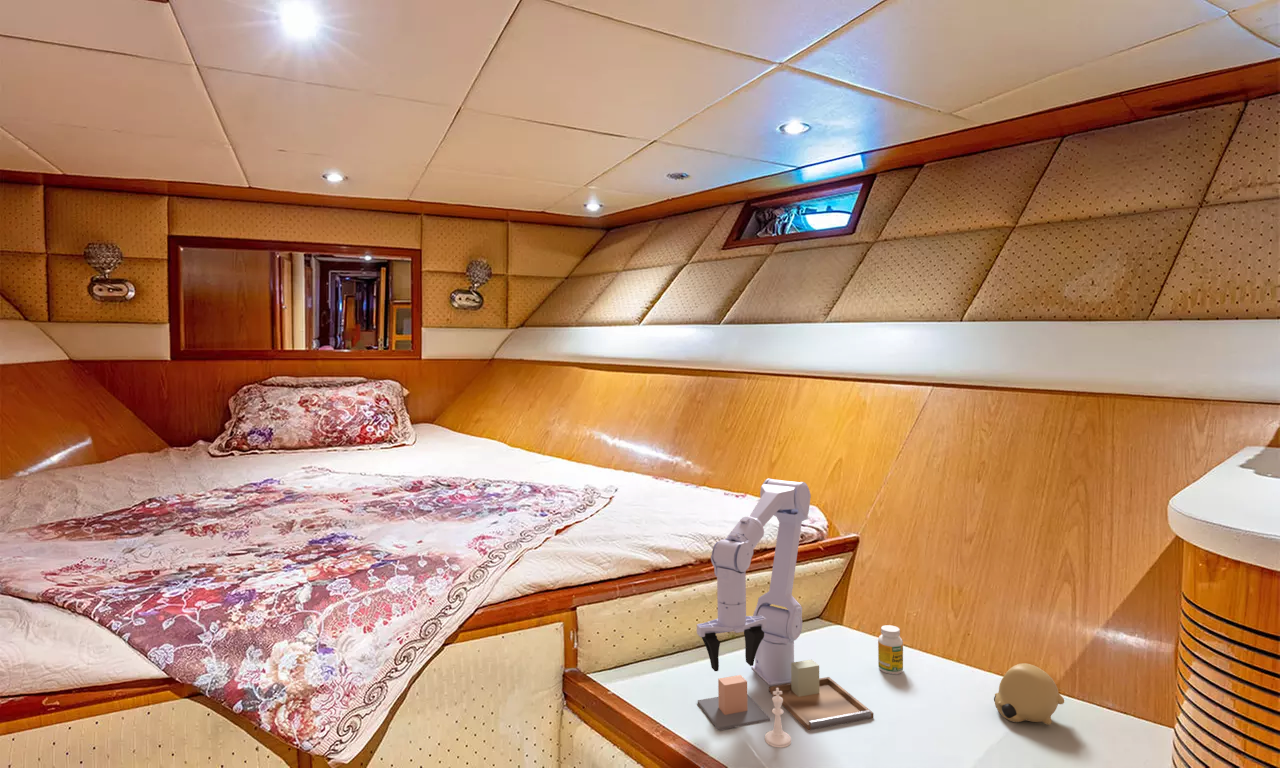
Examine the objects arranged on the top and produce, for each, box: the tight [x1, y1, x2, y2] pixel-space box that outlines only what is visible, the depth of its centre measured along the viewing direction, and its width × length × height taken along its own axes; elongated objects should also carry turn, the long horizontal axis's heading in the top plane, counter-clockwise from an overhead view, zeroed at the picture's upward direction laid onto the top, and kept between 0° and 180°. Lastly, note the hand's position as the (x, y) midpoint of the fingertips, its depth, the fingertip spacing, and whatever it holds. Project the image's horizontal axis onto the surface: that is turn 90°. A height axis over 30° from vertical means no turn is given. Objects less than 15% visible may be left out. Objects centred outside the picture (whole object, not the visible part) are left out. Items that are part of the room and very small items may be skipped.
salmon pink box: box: [717, 674, 748, 715], centre depth 136 cm, size 3×5×6 cm, turn 107°
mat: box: [697, 693, 771, 731], centre depth 136 cm, size 11×11×1 cm
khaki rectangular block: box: [791, 659, 820, 697], centre depth 144 cm, size 3×5×6 cm, turn 106°
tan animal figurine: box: [993, 662, 1065, 726], centre depth 132 cm, size 10×12×11 cm
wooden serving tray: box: [768, 676, 874, 731], centre depth 138 cm, size 16×15×2 cm
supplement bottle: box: [877, 624, 904, 675], centre depth 154 cm, size 5×5×10 cm
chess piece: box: [764, 688, 792, 748], centre depth 126 cm, size 5×5×10 cm
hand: (732, 666), depth 136 cm, fingers open, 7 cm apart
